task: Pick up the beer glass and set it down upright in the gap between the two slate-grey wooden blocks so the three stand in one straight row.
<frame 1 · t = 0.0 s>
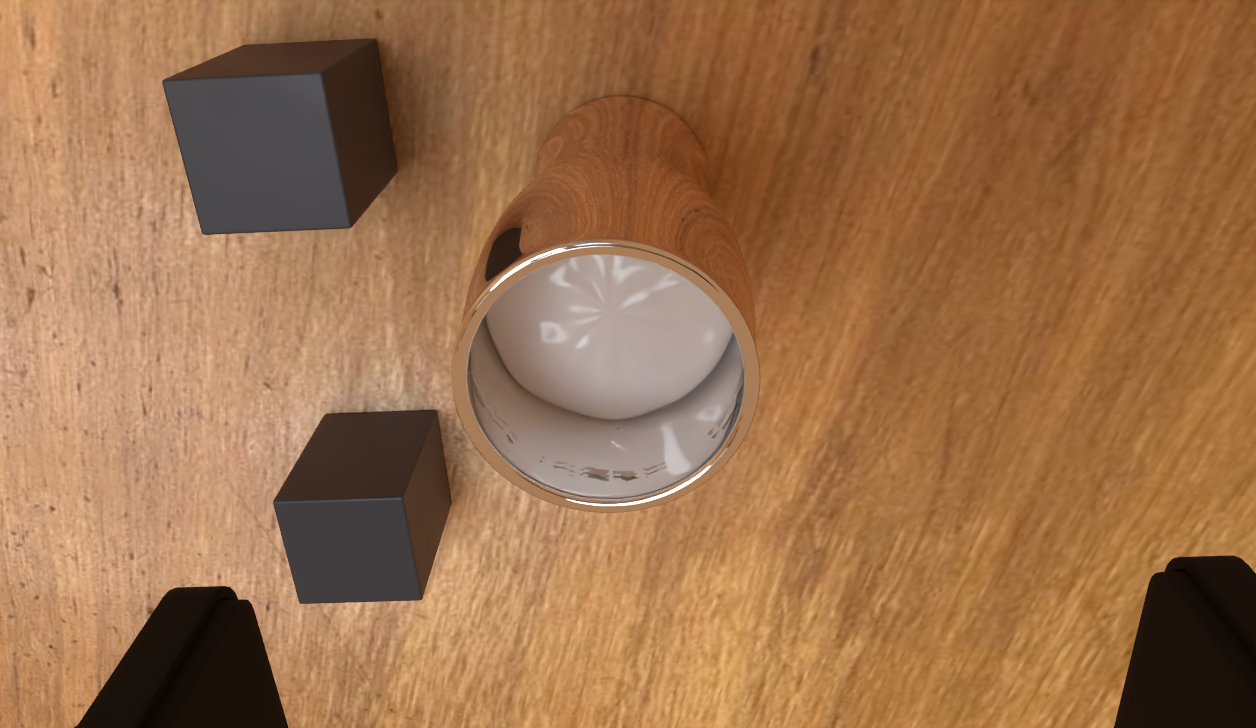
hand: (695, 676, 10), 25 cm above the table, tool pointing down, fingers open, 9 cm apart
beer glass: (621, 181, 34), on the table
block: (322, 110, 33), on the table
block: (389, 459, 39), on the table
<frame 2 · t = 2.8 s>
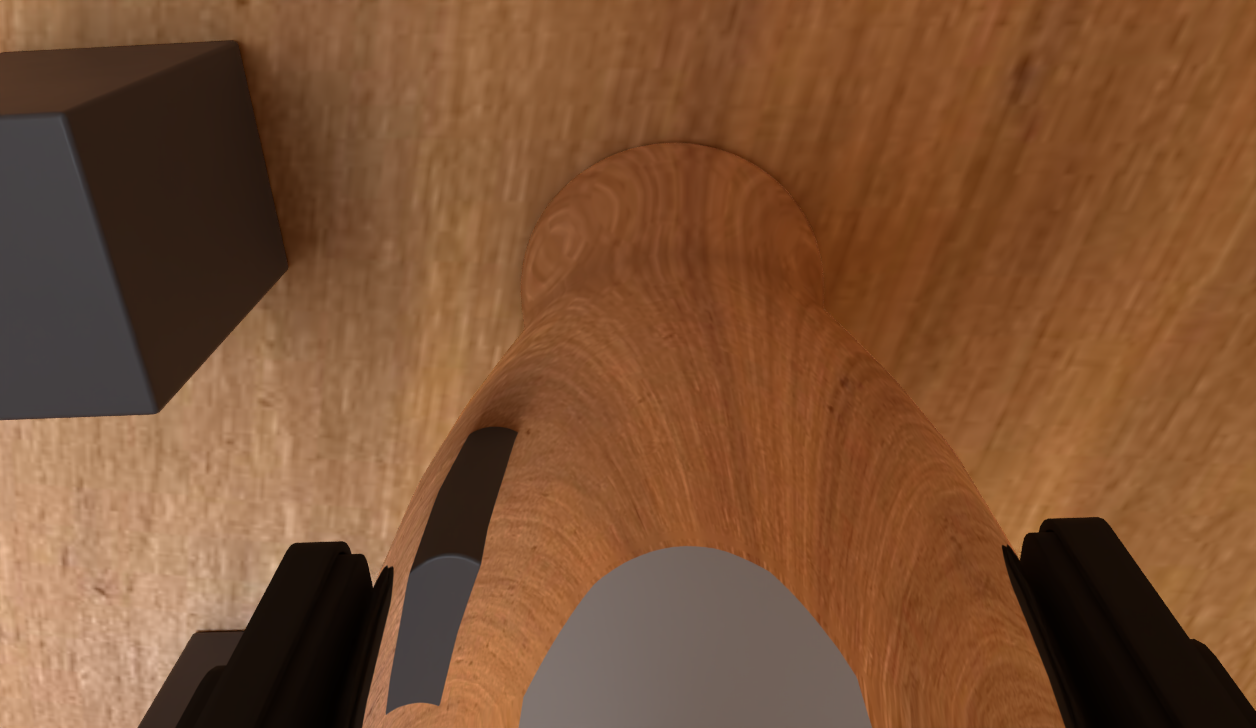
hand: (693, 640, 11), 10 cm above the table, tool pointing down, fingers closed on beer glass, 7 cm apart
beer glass: (670, 284, 20), on the table, touching gripper
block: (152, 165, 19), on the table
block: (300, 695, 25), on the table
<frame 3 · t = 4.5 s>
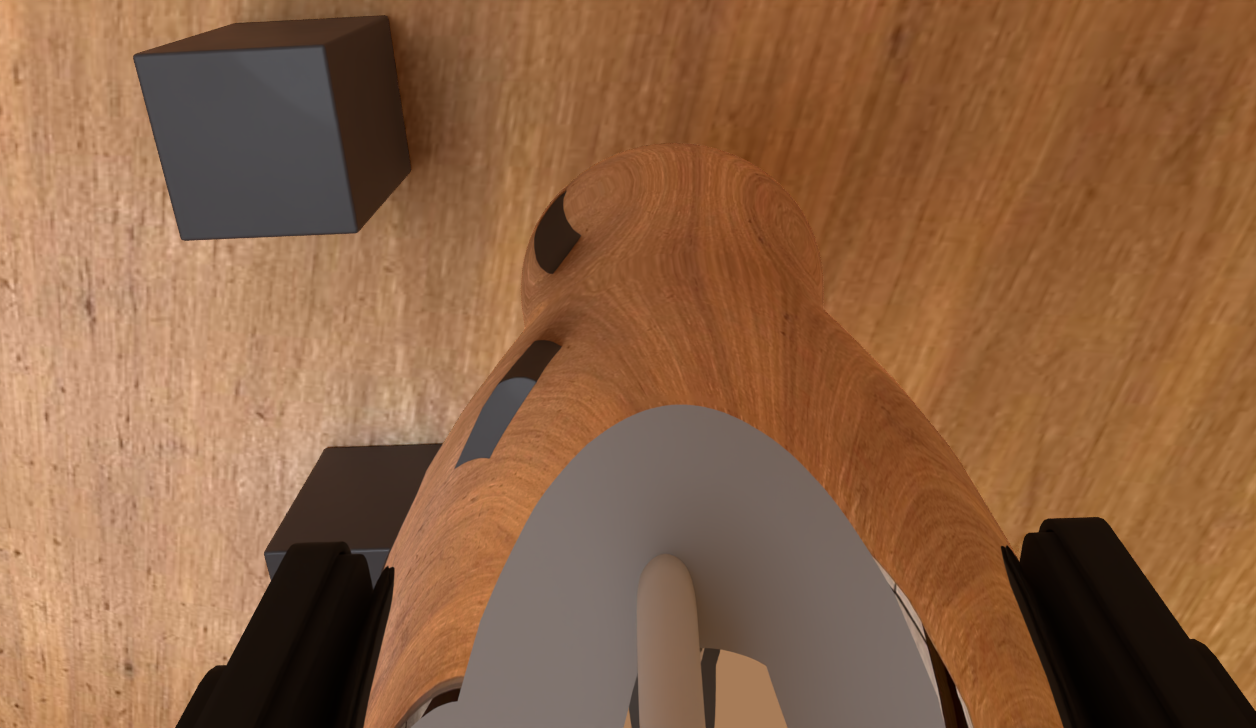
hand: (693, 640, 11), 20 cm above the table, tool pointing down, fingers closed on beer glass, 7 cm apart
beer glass: (670, 284, 20), point 10 cm above the table, touching gripper
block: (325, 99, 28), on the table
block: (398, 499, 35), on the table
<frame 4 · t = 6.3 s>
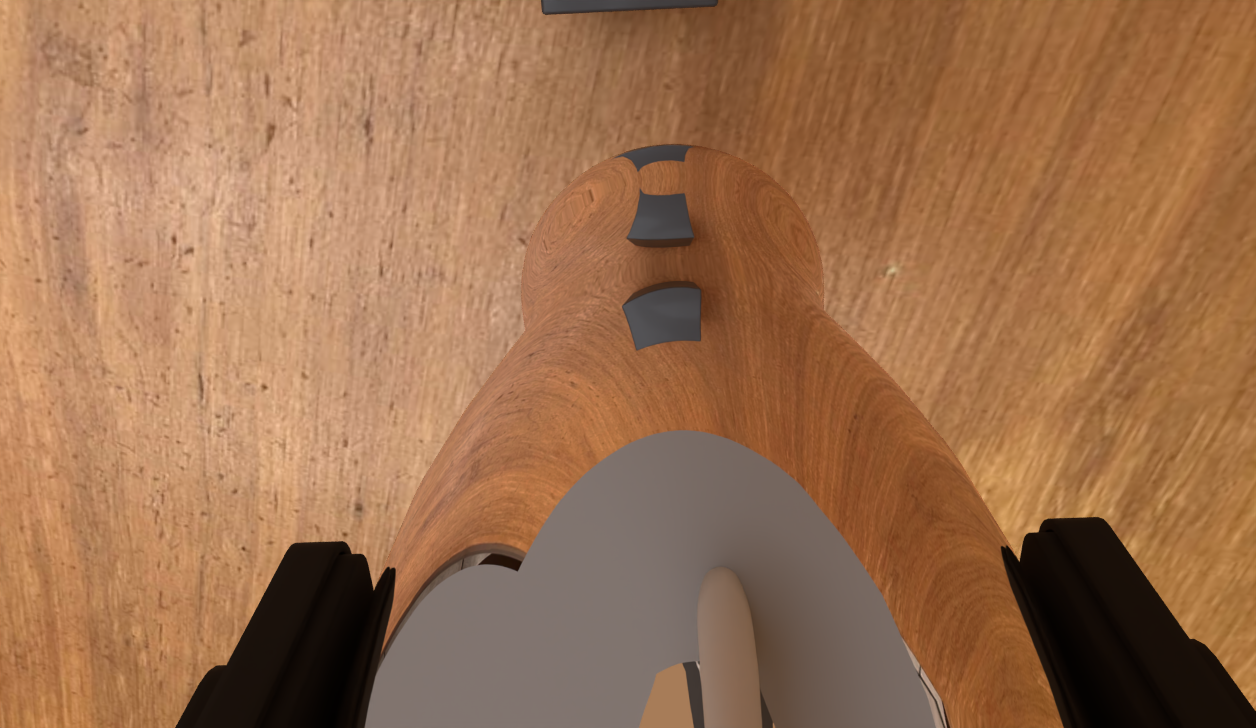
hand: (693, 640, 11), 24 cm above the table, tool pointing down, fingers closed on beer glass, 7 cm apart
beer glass: (671, 285, 20), point 14 cm above the table, touching gripper
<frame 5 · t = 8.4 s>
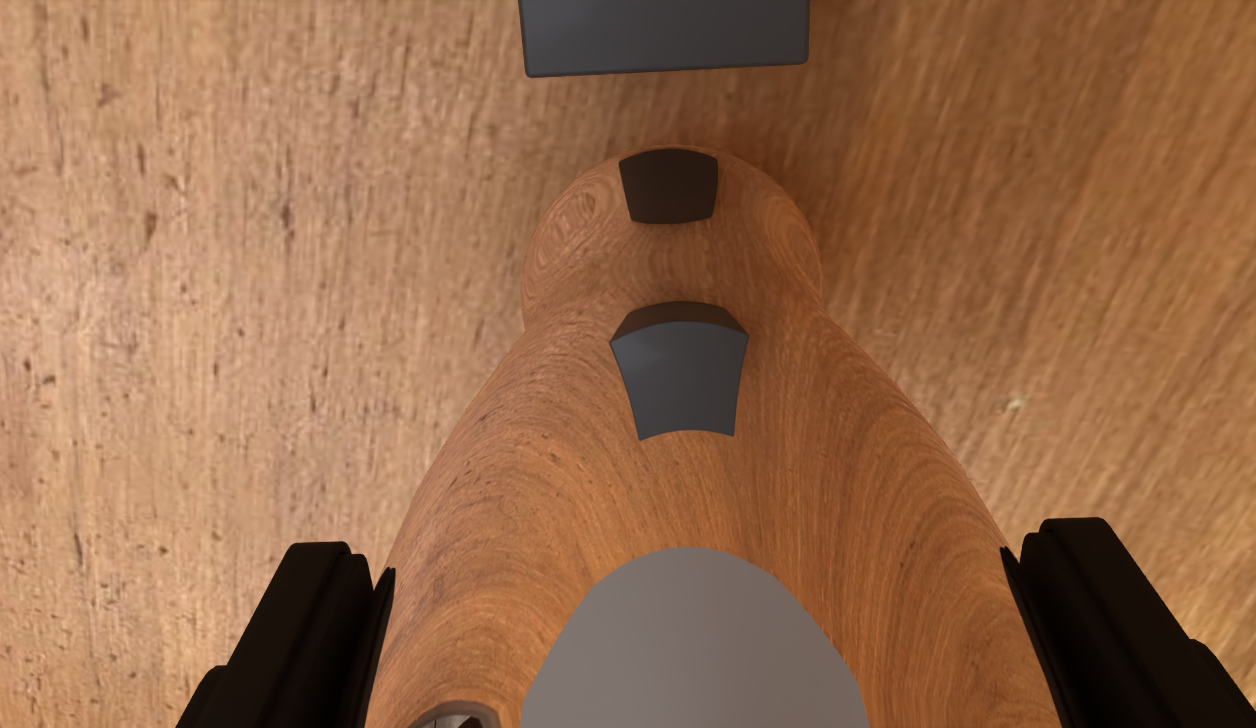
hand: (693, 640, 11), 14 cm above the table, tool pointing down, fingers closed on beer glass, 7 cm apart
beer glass: (671, 286, 20), point 3 cm above the table, touching gripper
when the fingers open (10 cm above the table, at t = 9.9 s): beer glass stays where it is, on the table.
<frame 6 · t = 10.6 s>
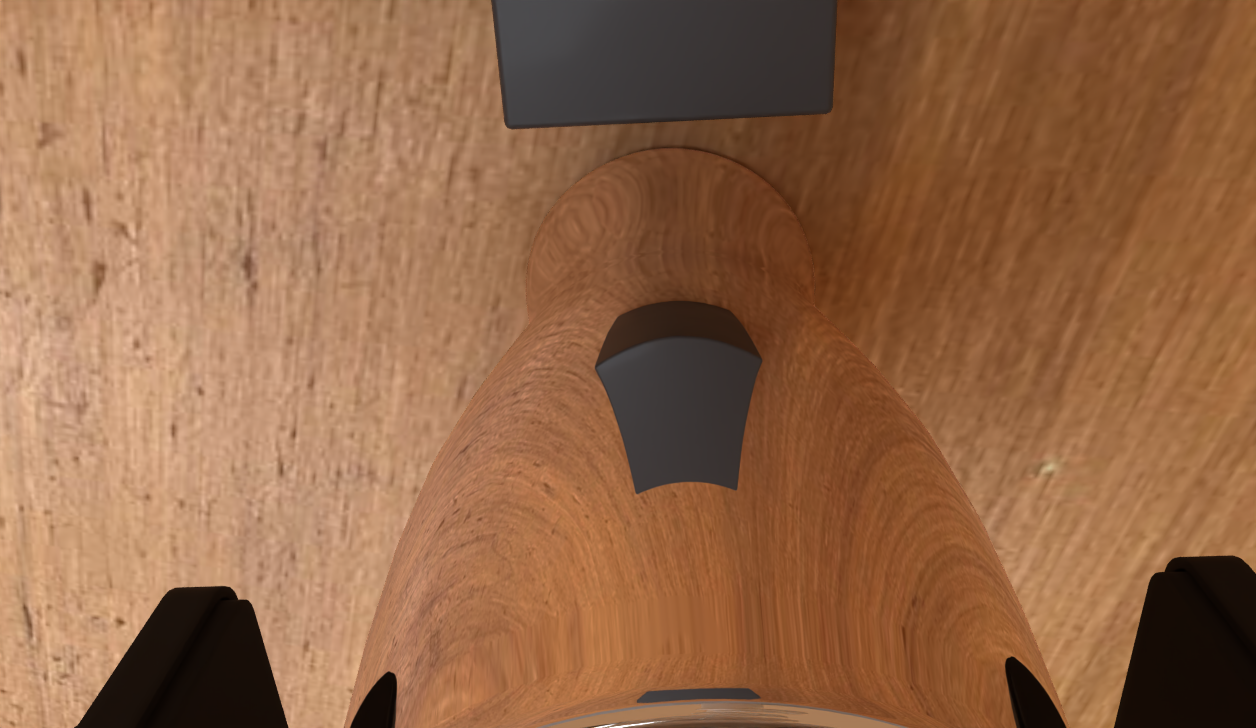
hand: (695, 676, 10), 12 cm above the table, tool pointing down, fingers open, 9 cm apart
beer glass: (669, 283, 21), on the table
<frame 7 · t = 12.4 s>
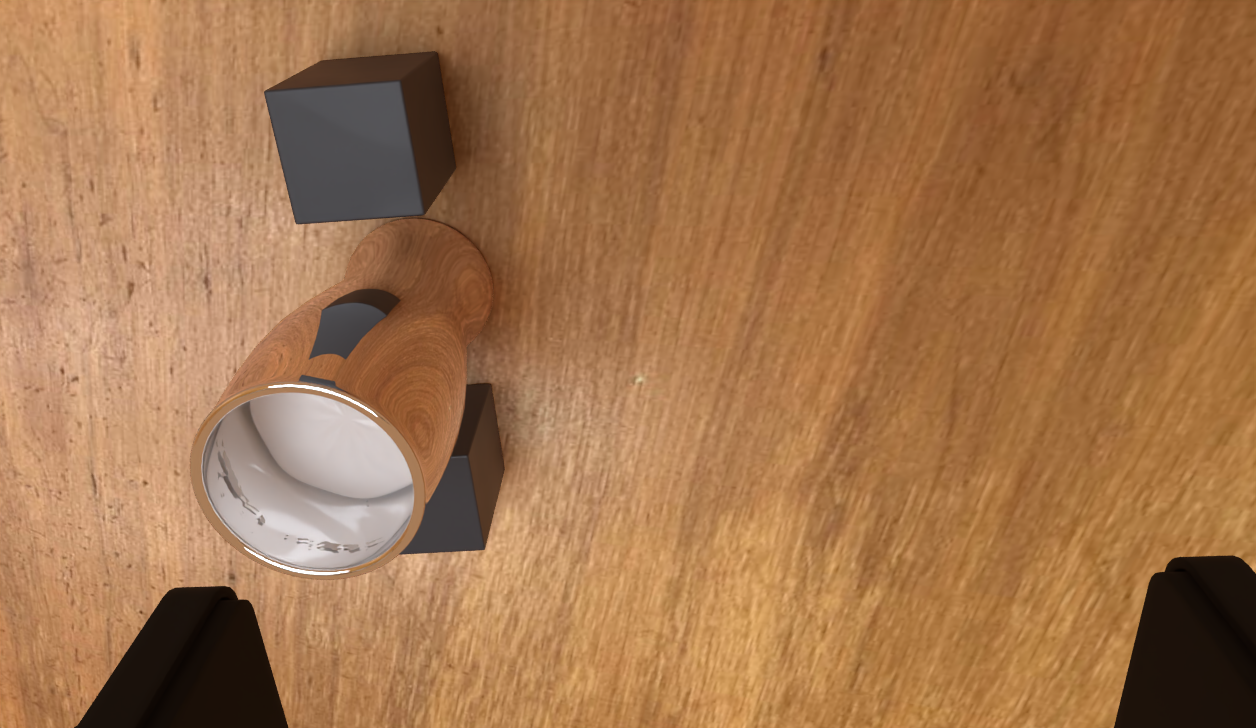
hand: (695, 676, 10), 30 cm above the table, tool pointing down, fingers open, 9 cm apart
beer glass: (422, 285, 41), on the table
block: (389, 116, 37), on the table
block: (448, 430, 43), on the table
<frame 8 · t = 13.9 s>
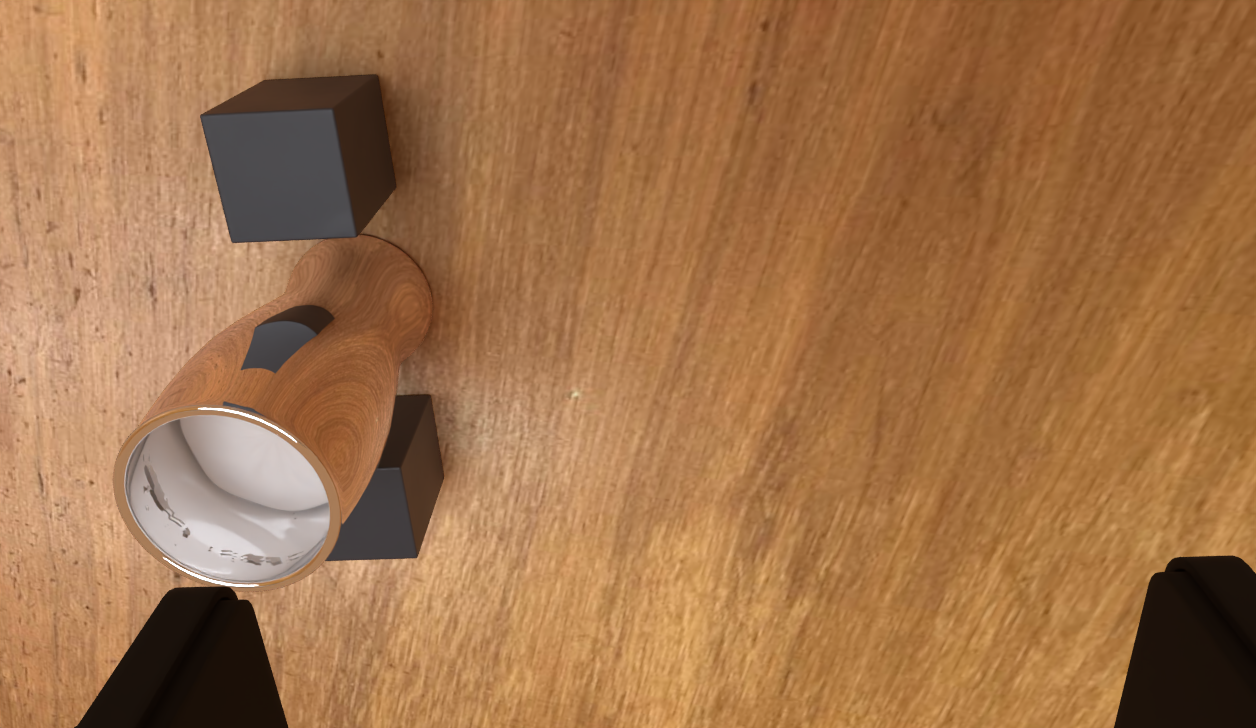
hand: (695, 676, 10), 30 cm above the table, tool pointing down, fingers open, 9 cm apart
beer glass: (363, 298, 42), on the table
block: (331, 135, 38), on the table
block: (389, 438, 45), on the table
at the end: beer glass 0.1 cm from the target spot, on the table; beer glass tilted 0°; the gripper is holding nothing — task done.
